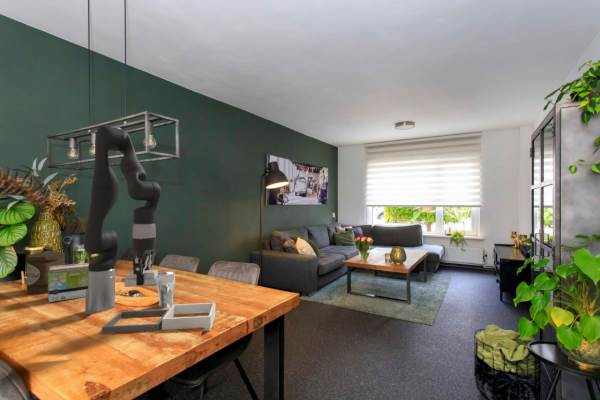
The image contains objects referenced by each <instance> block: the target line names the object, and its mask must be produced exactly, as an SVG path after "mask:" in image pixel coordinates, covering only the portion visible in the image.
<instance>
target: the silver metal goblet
mask: <svg viewBox="0 0 600 400" xmlns="http://www.w3.org/2000/svg"><path fill="white" fill-rule="evenodd" d="M158 275H161V282H160V283H158V284H157V285H156V287H157V293H158V294H157V295H158V298H159V299H158V300H159V301H158V302H159V303H158V307H159V308H160V309H161V308H162V309H164V308H165V309H166V308H171V307H172V306H173V305H174V293H175V289H176V272H175V271H171V270H168V271H160V272H158Z"/></svg>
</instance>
